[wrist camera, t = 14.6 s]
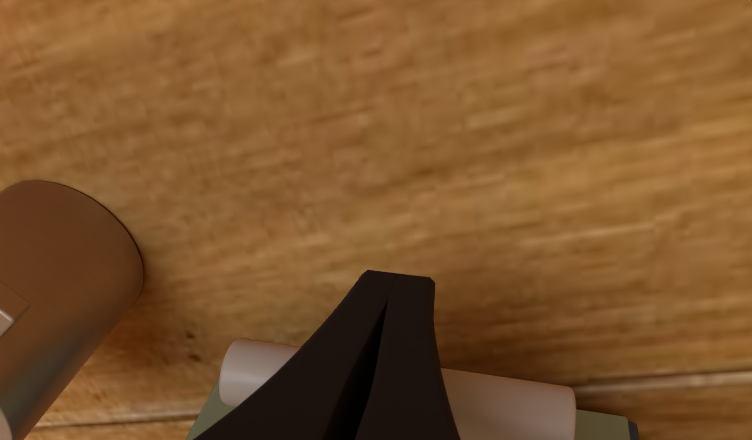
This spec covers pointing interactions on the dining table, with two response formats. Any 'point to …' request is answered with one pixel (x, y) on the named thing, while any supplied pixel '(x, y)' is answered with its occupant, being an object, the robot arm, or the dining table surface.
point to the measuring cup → (56, 293)
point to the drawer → (465, 394)
